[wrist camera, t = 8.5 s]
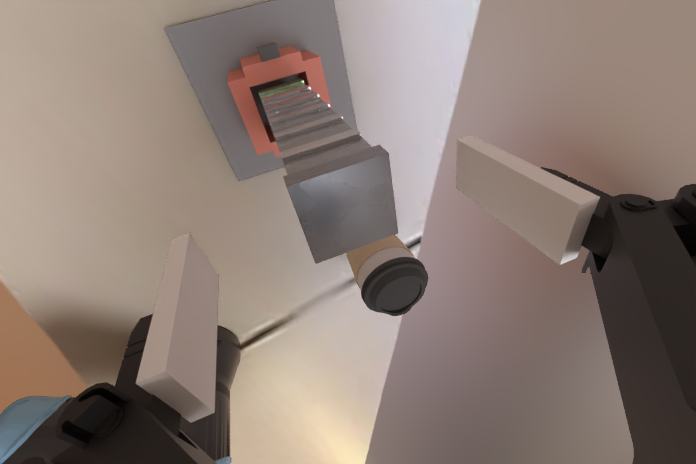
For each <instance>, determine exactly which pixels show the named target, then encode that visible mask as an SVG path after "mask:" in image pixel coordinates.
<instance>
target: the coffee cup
mask: <svg viewBox="0 0 696 464" xmlns="http://www.w3.org/2000/svg"><path fill="white" fill-rule="evenodd" d="M346 253H347V257H348V260H349V262H350V265H351V268H352V271H353V273H354V276H355V279H356V282H357V284H358V286H359V288H360V289H361V296H362V299H363V301H364V302H365V304H366V306H367V307H368V308H369V309H371V310H373V311H376V312H381V313H386V314H389V315H392V316H398V315H402V314H405V313H407V312H408V311H409V310H410V309H411V307H412V306H413V305H415V304H416V303H417V302H418V301H419V300H420V299H421V297H422V296H423V294H424V291H425V288H426V286H427V282H428V274H427V272H426V270H425V268H424V265H423V264H422V263H421V262H420V261H419V260H417V259H415V258H414V256H413V254H412V253H411V251H410V250H409V249H408V248H407V247H406V246H405V245H404V244H403V243H402V242H401V241H400V240H399V238H398V237H397V236H396V235H392V236H389V237H387V238H384V239H381V240H378V241H376V242H373V243H370V244H368V245H365V246H362V247H360V248H357V249H354V250H352V251H349V252H346Z"/></svg>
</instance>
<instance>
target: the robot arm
mask: <svg viewBox="0 0 696 464" xmlns="http://www.w3.org/2000/svg"><path fill="white" fill-rule="evenodd" d="M456 188H457V189H458V190H459V191H461V192H462V193H463V194H465V195H466V196H467V197H469V198H470V199H472V200H473V201H474V202H476V203H477V204H478V205H480V206H481V207H482V208H484V209H485V210H487V211H488V212H489V213H490V214H492V215H493V216H495V217H496V218H497V219H499V220H500V221H502V222H503V223H504V224H505V225H507V226H508V227H509V228H511V229H512V230H514V231H515V232H516V233H518V234H519V235H520V236H522V237H523V238H524V239H526V240H527V241H528V242H530V243H531V244H532V245H534V246H535V247H536V248H538V249H539V250H540V251H542V252H543V253H545V254H546V255H547V256H549V257H550V258H551V259H553V260H554V261H555V262H557V263H558V264H559V265H560V264H563V263H566V262H568V261H570V260H572V259H575V258H577V256H578V253H579V251H580V248H581V246H584V247H585V248H587V249H588V250H590V251H589V253H588V255H587V258H586V260H585V263H584V265H583V268H582V273H586V270H587V268H588V267H590V271H591V275H592V279H593V283H594V287H595V291H596V295H597V299H598V303H599V307H600V311H601V315H602V319H603V324H604V328H605V332H606V336H607V340H608V344H609V348H610V352H611V356H612V360H613V364H614V368H615V373H616V376H617V381H618V385H619V389H620V393H621V397H622V401H623V405H624V409H625V413H626V418H627V421H628V425H629V430H630V434H631V438H632V442H633V447H634V459H633V464H696V184H691V185H685V186H683V187H682V188H680V190H679V191H678V193H677V195H676V197H675V198H674V199H671V200H663V201H655V200H653V199H651V198H648V197H645V196H641V195H634V194H621V195H617V196H614V197H613V196H610V195H608V194H606V193H604V192H602V191H599V190H597V189H595V188H593V187H591V186H589V185H587V184H584V183H582V182H580V181H579V182H578V181H577V180H576V179H574V178H571V177H568V176H567V175H565V174H563V173H561V172H558V171H556V170H552V169H548V168H543V167H541V168H539V167H537V166H534V165H532V164H530V163H528V162H526V161H524V160H522V159H520V158H518V157H516V156H513V155H511V154H509V153H507V152H505V151H503V150H501V149H499V148H497V147H495V146H493V145H490V144H488V143H486V142H484V141H482V140H480V139H478V138H476V137H474V136H472V135H470V136H467V137H464V138H461V139H458V140H457V163H456ZM218 291H219V275H218V273H217V272H216V270H215V269H214V267H213V266H212V264H211V263H210V262H209V260H208V259H207V257H206V256H205V254H204V253H203V251H202V250H201V248H200V247H199V245H198V244H197V243H196V241H195V240H194V238H193V237H192V235H191V234H190V233H187V234H184V235H181V236H178V237H175V238H173V239H172V240H171V244H170V248H169V252H168V256H167V260H166V264H165V268H164V272H163V276H162V280H161V284H160V288H159V292H158V296H157V300H156V304H155V308H154V312H153V314H151V315H149V316H146V317H143V318H141V319H140V320H139V322H138V323H137V325H136V326H135V328H134V329H133V331H132V332H131V335H130V339H129V342H128V345H127V346H128V348H127V349H126V352H125V355H124V358H125V359H124V360H123V362H122V365H121V368H120V371H119V375H118V378H117V381H116V384H115V387H114V386H113V385H111V384H109V383H99V384H96V385H94V386H92V387H90V388H87V389H86V390H85V391H83V392H82V393H81V394H79V395H78V396H77V397H76V398H74V397H71V396H65V397H46V396H29V397H25V398H22V399H19V400H17V401H15V402H13V403H12V404H11V405H9V406H8V407H7V408H6V409H5V410H4V411H3V412H2V413H1V414H0V464H230V463H231V457H230V388H231V385H232V383H233V380H234V377H235V374H236V371H237V367H238V365H239V362H240V343H239V340H238V339H237V337H236V336H235V335H234V334H233V333H232V332H230V331H228V330H226V329H224V328H222V327H218V326H217V322H218Z"/></svg>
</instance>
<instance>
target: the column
mask: <svg viewBox="0 0 696 464" xmlns="http://www.w3.org/2000/svg"><path fill="white" fill-rule="evenodd" d="M258 93H259V95H260V98H261V101H262V104H263V107H264V109H265V112H266V115H267V118H268V121H269V124H270V126H271V129H272V132H273V135H274V138H275V140H276V143H277V146H278V149H279V152H280V154H281V157H282V160H283V163H284V166H285V168H286V171H287V174H288V175H287V176H284V180H285V183H286V186H287V189H288V192H289V194H290V197H291V200H292V202H293V205H294V208H295V210H296V213H297V216H298V218H299V221H300V223H301V226H302V229H303V231H304V234H305V237H306V239H307V242H308V245H309V247H310V250H311V253H312V255H313V258H314V260H315V263H319V262H322V261H325V260H327V259H330V258H333V257H335V256H338V255H341V254H343V253H346V252H349V251H352V250H354V249H357V248H360V247H362V246H365V245H368V244H370V243H373V242H376V241H378V240H381V239H384V238H387V237H389V236H392V235H395V234H397V233H398V227H397V219H396V211H395V202H394V194H393V186H392V178H391V169H390V161H389V153H388V152H387V151H386V150H385V149H383V148H382V147H381V146H380V145H377V146H374V147H372V146H370V145H369V144H368V143H367V142H366V141H365V140H364V139H363V138H362V137H361V133H360V132H359V131H358V130H357V129H356V128H354V129H352V128H351V127H350V126H349V125H348V124H347V123H346V122H345V121H344V120H343V116H342V115H340V114H339V113H338V114H336V113H335V112H334V111H333V110H332V109H331V108H330V105H329V104H328V103H327V102H324V101H323V100H322V99H321V98H320V97H319V94H318V93H317V92H316V93H314V92H313V91H312V90H311V88H310V86H309V85H306V84H305V83H304V81H303V80H302V79H298V80H294V81H291V82H287V83H284V84H280V85H277V86H274V87H270V88H267V89H263V90H260V91H258Z"/></svg>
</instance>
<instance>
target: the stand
mask: <svg viewBox="0 0 696 464" xmlns="http://www.w3.org/2000/svg"><path fill="white" fill-rule="evenodd" d="M164 30H165V32H166V34H167V36H168V38H169V40H170V42H171V44H172V46H173V48H174V50H175V52H176V54H177V56H178V58H179V60H180V62H181V64H182V66H183V69H184V71H185V73H186V75H187V77H188V79H189V81H190V83H191V85H192V87H193V89H194V91H195V93H196V95H197V97H198V99H199V101H200V103H201V105H202V107H203V109H204V111H205V114H206V116H207V118H208V120H209V122H210V124H211V126H212V128H213V130H214V132H215V134H216V136H217V138H218V140H219V142H220V144H221V146H222V148H223V150H224V152H225V154H226V157H227V159H228V161H229V163H230V165H231V167H232V169H233V171H234V173H235V175H236V177H237V179H238V181H241V180H244V179H248V178H251V177H254V176H257V175H260V174H263V173H266V172H269V171H272V170H275V169H278V168H281V167H284V163H283V160H282V157H281V154H280V152H279V149H278V146H277V143H276V140H275V138H274V135H273V132H272V129H271V126H270V124H269V121H268V118H267V115H266V112H265V109H264V107H263V104H262V101H261V98H260V95H259V93H258V91H260V90H263V89H267V88H270V87H274V86H277V85H280V84H284V83H287V82H291V81H294V80H298V79H302V80H303V81H304V83H305V84H306V85H309V86H310V88H311V90H312V91H313V92H314V93H316V92H317V93H318V94H319V97H320V98H321V99H322V100H323V101H324V102H327V103H328V104H329V105H330V108H331V109H332V110H333V111H334V112H335V113H336V114H338V113H339V114H340V115H342V116H343V120H344V121H345V122H346V123H347V124H348V125H349V126H350V127H351V128H352V129H354V128H356V129H357V126H356V121H355V115H354V110H353V104H352V99H351V93H350V88H349V82H348V77H347V71H346V66H345V60H344V55H343V49H342V44H341V38H340V33H339V27H338V22H337V16H336V11H335V5H334V0H272V1H269V2H265V3H261V4H257V5H253V6H249V7H245V8H241V9H237V10H233V11H230V12H226V13H222V14H218V15H214V16H210V17H206V18H202V19H198V20H195V21H191V22H187V23H183V24H179V25H175V26H171V27H167V28H164Z"/></svg>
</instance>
